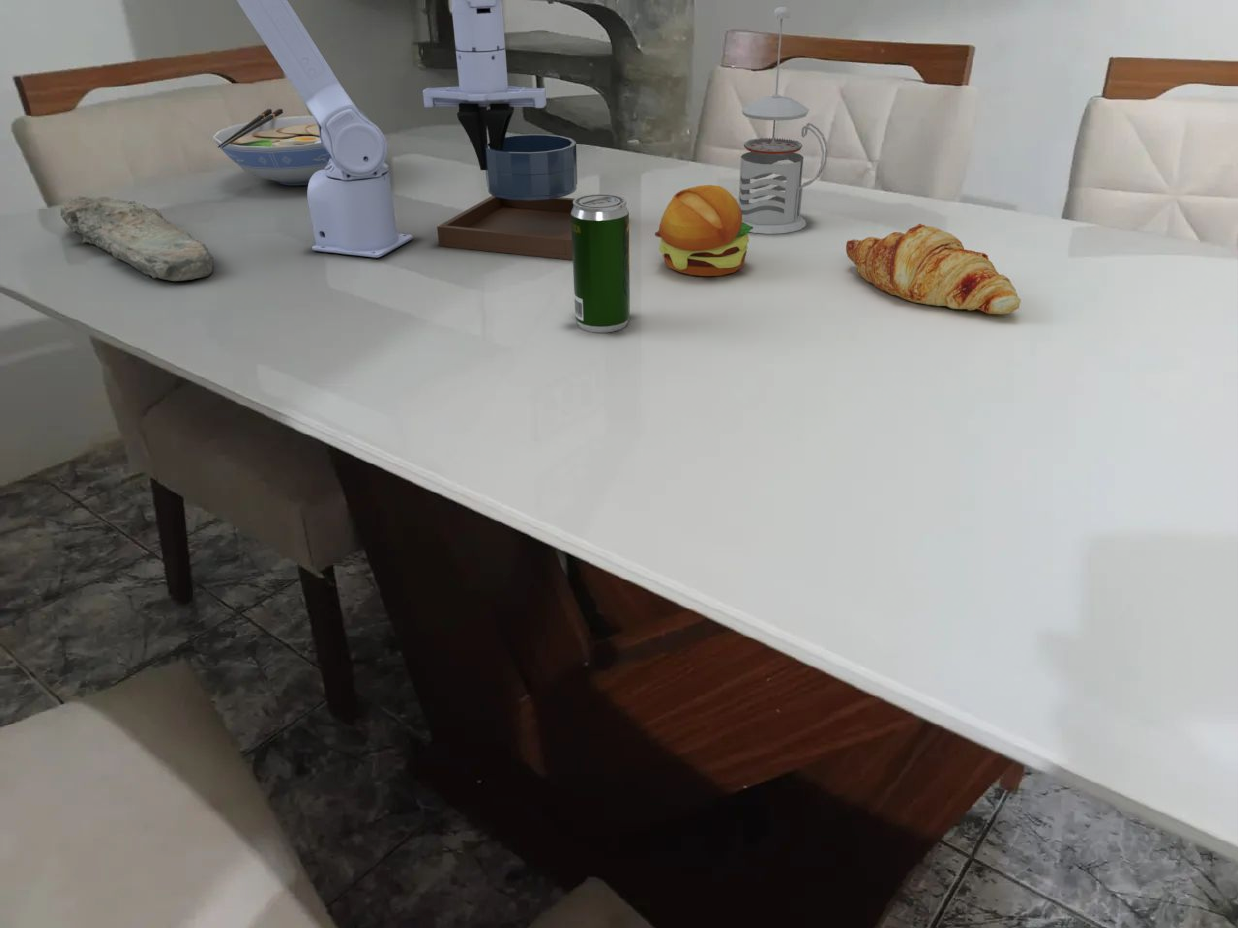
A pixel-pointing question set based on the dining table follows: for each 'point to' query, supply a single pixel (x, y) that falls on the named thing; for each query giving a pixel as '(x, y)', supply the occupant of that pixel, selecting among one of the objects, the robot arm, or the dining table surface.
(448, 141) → the dining table surface
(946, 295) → the croissant
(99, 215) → the elongated rock
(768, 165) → the french press
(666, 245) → the cheeseburger
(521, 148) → the blue bowl
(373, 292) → the dining table surface
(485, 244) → the serving tray
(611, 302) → the beer can
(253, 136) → the ramen bowl
